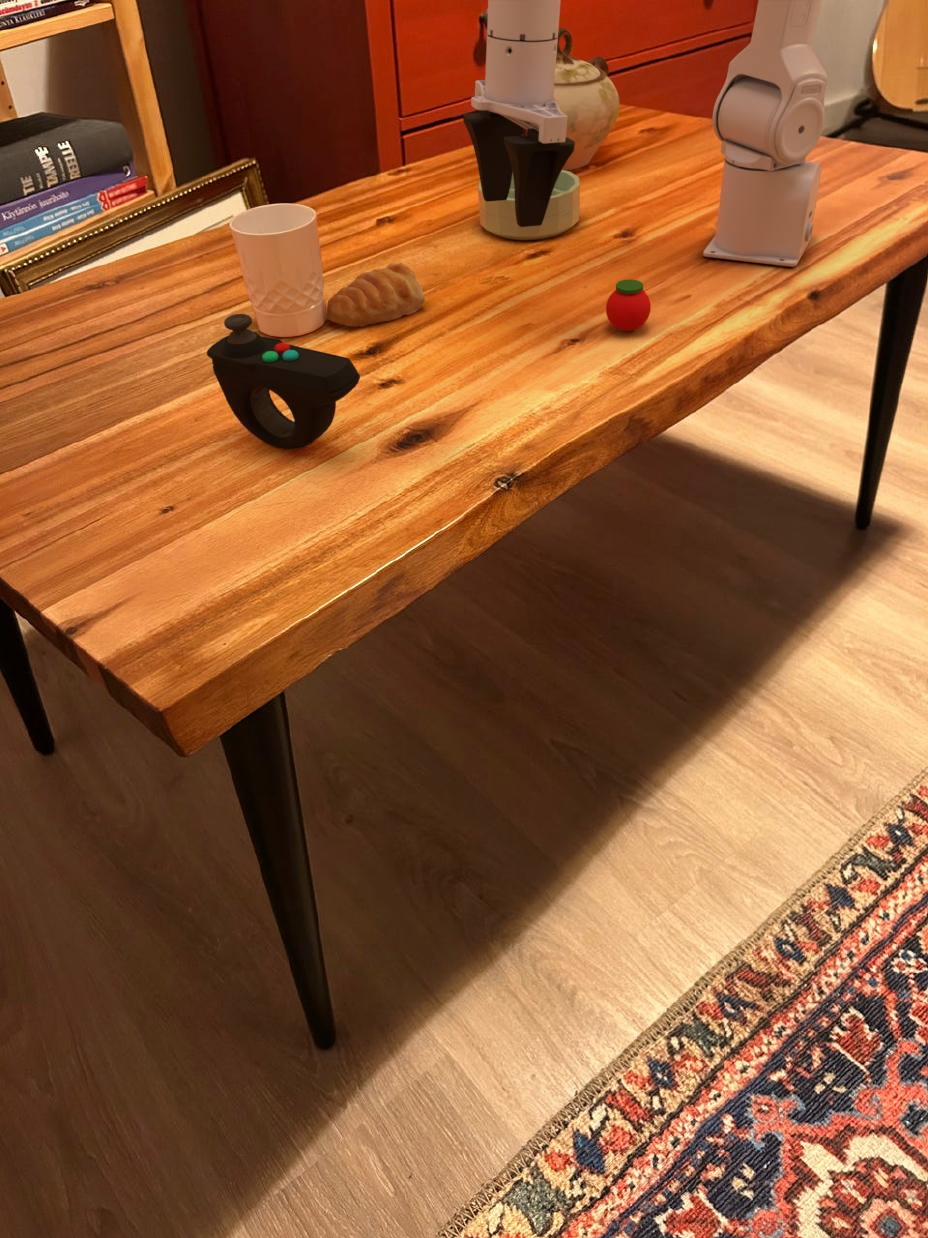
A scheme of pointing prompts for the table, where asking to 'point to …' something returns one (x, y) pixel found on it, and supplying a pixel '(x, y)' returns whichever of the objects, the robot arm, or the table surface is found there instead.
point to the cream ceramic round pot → (584, 101)
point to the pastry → (377, 297)
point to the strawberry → (628, 305)
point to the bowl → (557, 217)
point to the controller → (279, 384)
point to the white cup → (281, 267)
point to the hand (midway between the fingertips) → (511, 211)
